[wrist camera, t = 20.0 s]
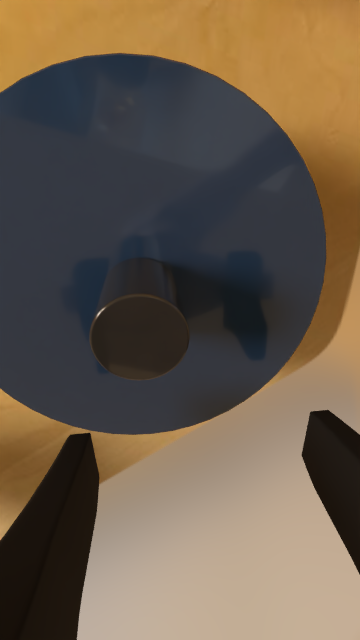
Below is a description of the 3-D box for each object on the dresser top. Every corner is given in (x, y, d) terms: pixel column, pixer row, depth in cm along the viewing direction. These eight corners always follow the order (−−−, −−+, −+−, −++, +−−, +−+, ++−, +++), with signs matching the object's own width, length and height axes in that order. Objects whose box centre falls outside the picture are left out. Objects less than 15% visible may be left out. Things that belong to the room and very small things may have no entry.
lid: (344, 60, 10) (471, 3, 6) (289, 403, 16) (336, 482, 12) (-129, 65, 9) (-335, -2, 5) (4, 430, 15) (-43, 526, 11)
